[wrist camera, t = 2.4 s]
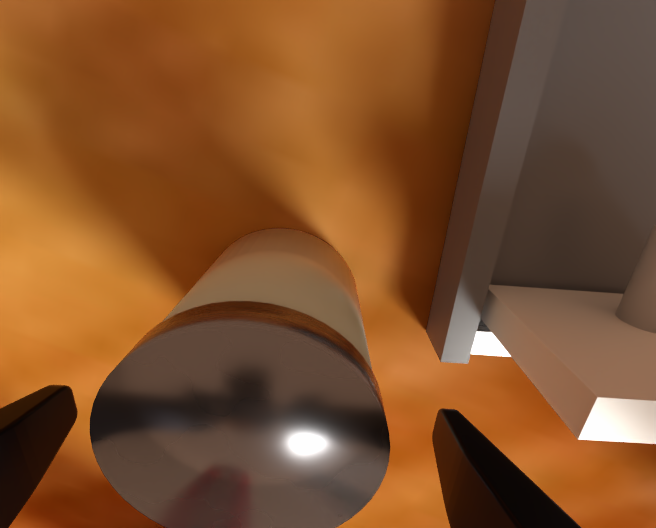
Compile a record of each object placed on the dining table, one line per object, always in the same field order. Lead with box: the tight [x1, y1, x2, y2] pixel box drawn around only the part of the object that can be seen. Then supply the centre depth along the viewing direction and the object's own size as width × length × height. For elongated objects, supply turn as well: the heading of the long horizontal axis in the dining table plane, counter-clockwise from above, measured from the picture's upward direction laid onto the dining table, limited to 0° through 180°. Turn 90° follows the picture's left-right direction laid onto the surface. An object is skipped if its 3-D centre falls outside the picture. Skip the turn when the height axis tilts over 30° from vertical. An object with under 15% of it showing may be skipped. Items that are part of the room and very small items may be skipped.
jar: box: [90, 228, 390, 528], centre depth 10 cm, size 6×6×7 cm
